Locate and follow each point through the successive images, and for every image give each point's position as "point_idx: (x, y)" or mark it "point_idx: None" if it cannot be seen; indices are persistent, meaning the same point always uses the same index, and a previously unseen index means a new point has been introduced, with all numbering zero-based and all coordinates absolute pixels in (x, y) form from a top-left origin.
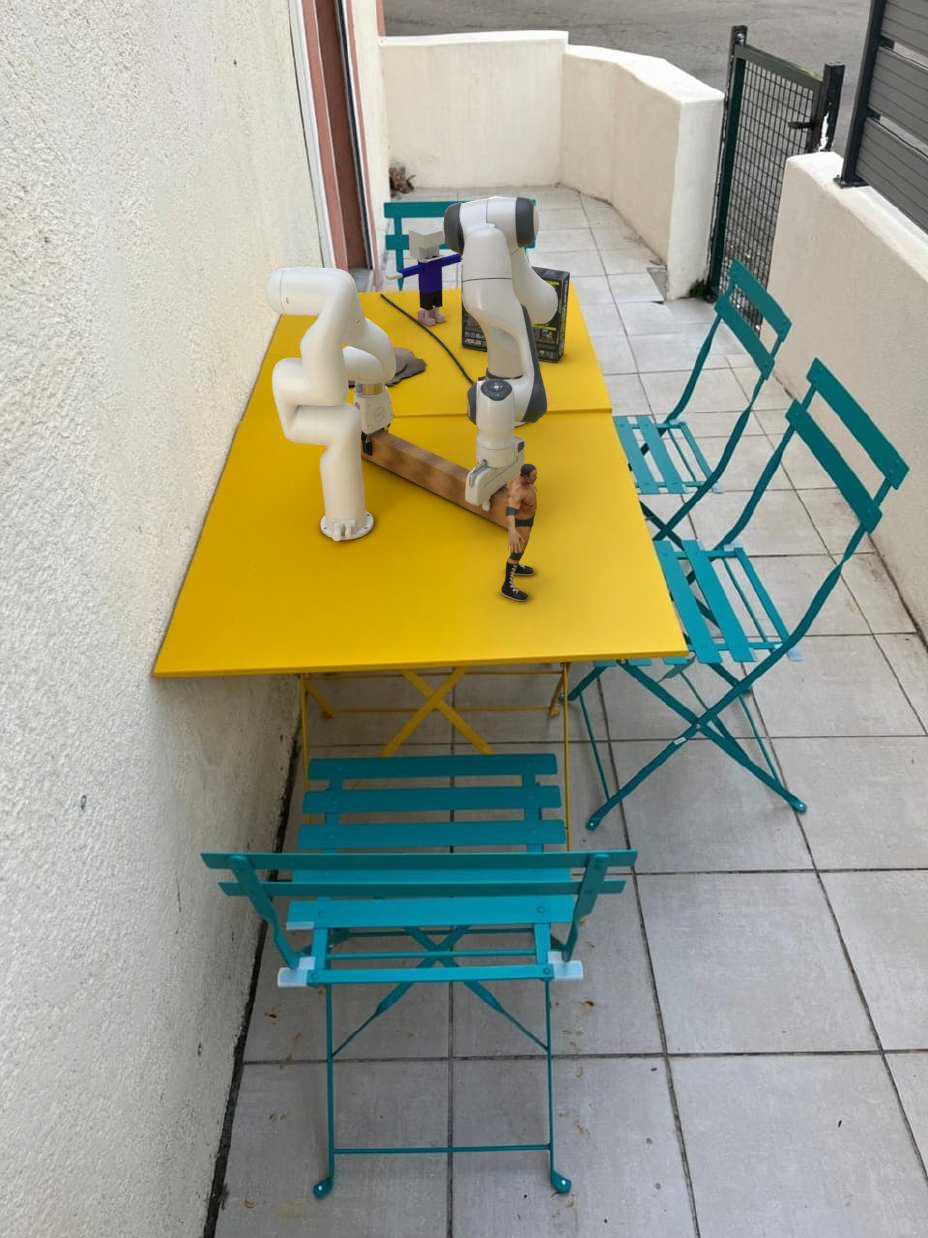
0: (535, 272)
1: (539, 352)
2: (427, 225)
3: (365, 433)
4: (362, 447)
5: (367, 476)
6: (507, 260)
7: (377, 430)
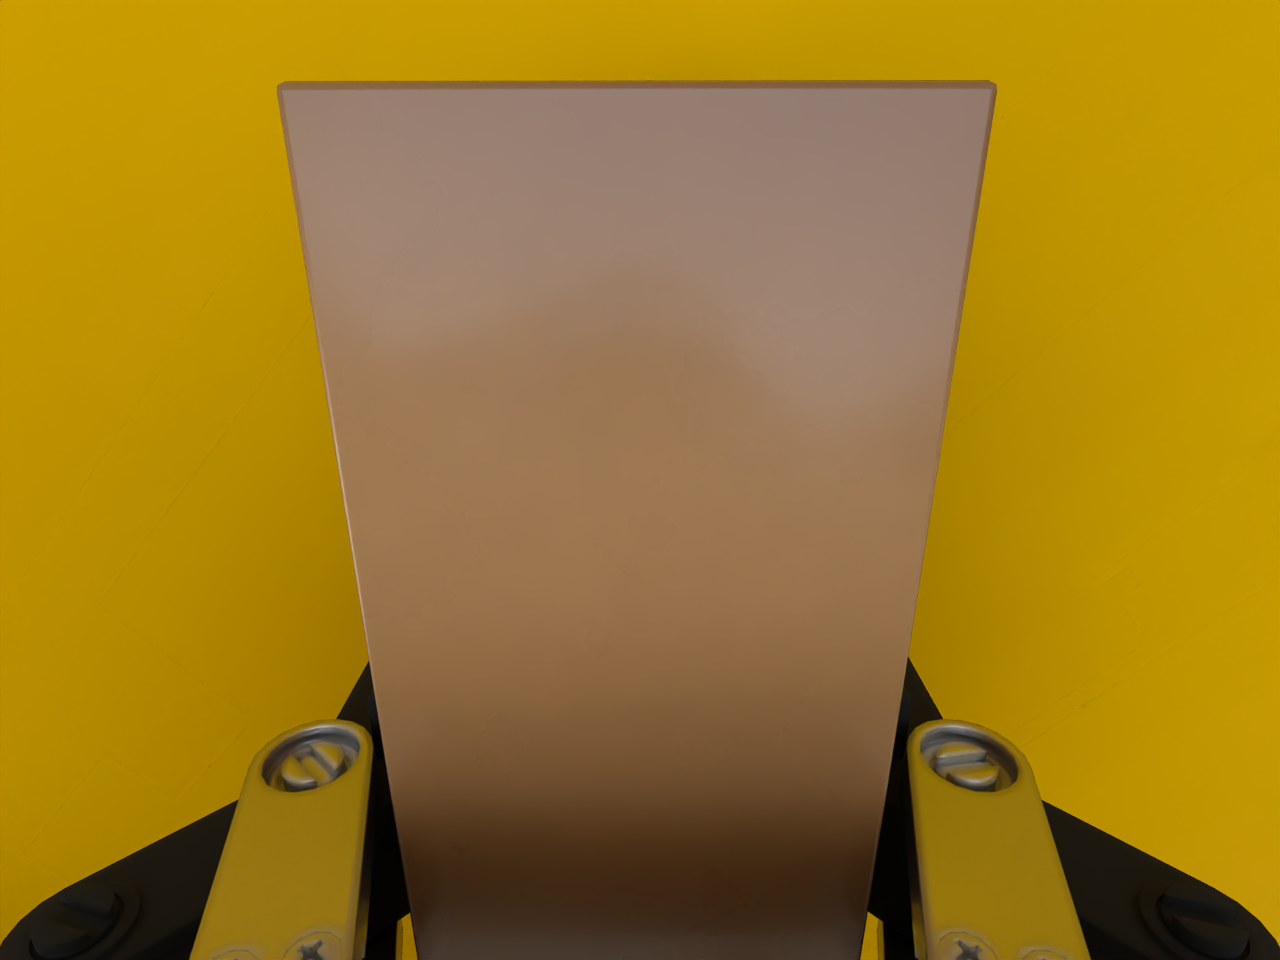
0: None
1: None
2: None
3: (420, 848)
4: (369, 662)
5: (337, 693)
6: None
7: (746, 933)
